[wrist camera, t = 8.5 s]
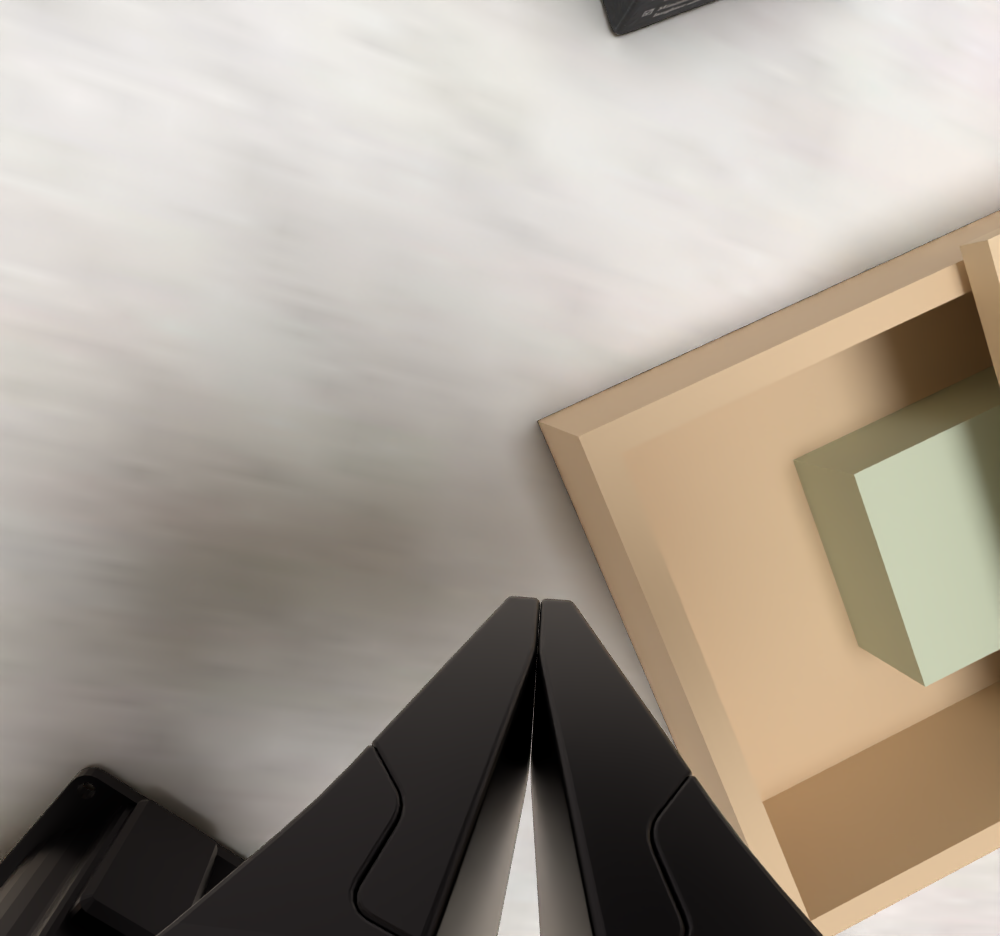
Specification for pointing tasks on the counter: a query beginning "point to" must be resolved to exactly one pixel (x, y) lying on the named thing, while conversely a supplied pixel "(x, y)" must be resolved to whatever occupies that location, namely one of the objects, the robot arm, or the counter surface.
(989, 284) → the lid
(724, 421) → the box
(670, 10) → the box
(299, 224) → the counter surface
